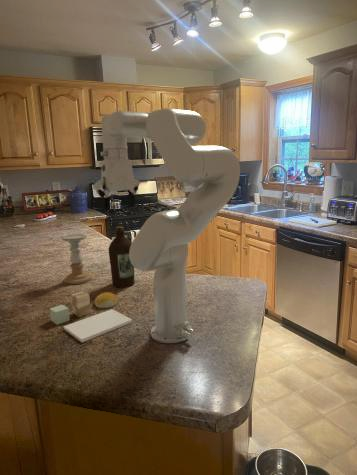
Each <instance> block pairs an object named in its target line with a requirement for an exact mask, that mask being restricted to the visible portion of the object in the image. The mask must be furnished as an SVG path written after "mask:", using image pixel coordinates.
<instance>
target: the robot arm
mask: <svg viewBox="0 0 357 475" xmlns="http://www.w3.org/2000/svg"><path fill="white" fill-rule="evenodd" d="M206 132H207V125H206V121H205V119H204V117H203V116H202V115H201V114H199V113H197V112H196V111H193V110H189V109H188V110H187V109H178V108H167V107H165V108H161V109H154V110H153V111H151V112H143V111H132V110H116V111H113V112H112V113H109V114H108V113H107V114H104V115H103V116H102V117H101V134H102V146H103V147H102V148H103V149H102V150H103V151H100V156H101V157H103V159H102V161H101V162H102V163H101V172H100V173H101V178H100V179H99V180H97V181H96V182H95V183H94V184H93V188H94V190H95V192H96V194H97V195H98V196H100V198H101V205H102V209H103V210H104V211H110V210H111V204H110V203H111V202H110V197H109V195H110V194H111V192H123V191H126V193H127V194H126V196H127V197H126V198H127V201H126V202H127V206H128V207H131V208H135V207H136V206H135V203H136V201H135V200H136V199H135V198H136V197H135V196H136V194H137V191H138V189H139V187H140V183H141V181H140V180H139V179H137V178H135V176H134V170H133V166H132V162H131V159H129V153H128V142H127V140H128V139H127V138H141V139H144V138H145V139H150V140H151V141H152V142H153V144H154V147H155V148H156V150H157V152H158V154H159V155H160V157H161V158H162V160H163V162H164V163H165V165H166V167H167V169H168V171H169V172H170V174H171V175H172V177H173V178H174V179H176V180H177V182H179V183H182V184H184V185H185V184H188V185H189V184H190V185H191V184H200V185H198V186H197V187H196V188H195V189H193V190H192V191H191V192H190V193H189V195H188V196H187V197H186V198H185V200H184V201H183V202H182V204H181V205H179V207H176V208H173V209H170V210H168V209H167V210H162V211H158V212H156V213H153V214H152V215H151V216H148V218H147V219H146V220H145V222H144V223H143V225H142V226H141V228H140V229H139V231H138V233H137V234H136V235H135V237H134V238H133V240H132V241H131V243H132V244H131V247H130V251H129V257H130V261H131V264H132V265H133V266H134V269H136V270H137V271H139V272H151V271H154V273H153V280H152V281H153V282H152V283H153V302H154V303H153V304H154V321H155V322H154V323H155V324H154V325H153V326H152V327H151V329H150V336H151V338H152V339H153V340H154V341H156V342H159V343H163V344H176V343H182V342H184V341H185V342H186V340H187V341H189V340H192V336H193V335H194V334H195V330H194V329H193V328H192V327H191V325H190V321H188V320H187V319H188V318H187V286H186V285H187V283H186V281H187V280H186V279H187V278H186V277H187V276H186V273H187V272H186V271H187V261H188V256H189V243H192V242H194V241H195V240H196V239H197V238H199V236H200V235H201V233H203V232H204V230H205V229H206V228H207V227H208V225H209V224H210V223H211V222H212V220H214V218H215V217H216V216H217V214H219V212H221V210H222V208H224V207H225V206H226V205H227V204H228V202H229V201H230V200H231V198H232V197H233V195H234V194H235V192H236V190H237V188H238V185H239V181H240V175H241V169H240V166H241V165H240V161H239V159H238V157H237V155H236V154H235V152H233V150H231V149H230V148H227V147H224V146H220V145H196V144H198V143H200V142H201V141H202V139H204V137H205V136H206ZM101 188H102V189H101Z"/></svg>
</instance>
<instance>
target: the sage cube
mask: <svg viewBox="0 0 357 475" xmlns="http://www.w3.org/2000/svg"><path fill="white" fill-rule="evenodd" d="M49 313H50V315H49V316H50V321H51V322H52V323H54V324H55V325H56V326H57V325H61V324H63V323H66V322H69V321H71V320H70V311H69V307H67V306H66V305H64V304H59V305H56V306H54V307H50V308H49Z"/></svg>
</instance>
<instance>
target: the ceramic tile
mask: <svg viewBox="0 0 357 475" xmlns="http://www.w3.org/2000/svg"><path fill="white" fill-rule="evenodd" d="M132 323H133V319H131V318H130V317H127V316H126V315H124V314H122V313H120V312H118V311H117V310H114V309H108V310H106V311H103V312H100V313H98V314H95V315H91V316H89V317H85V318H84V319H80V320H77V321H75V322H72V323H70V324H66V325H64V326H63V330H65V332H68V334H69V335H71V336H72V337H74V338H75V339H76V340H78V341H79V342H80V343H84V342H88V341H90V340H92V339H94V338H97V337H100V336H102V335H104V334H107V333H110V332H112V331H115V330H118V329H119V328H122V327H124V326H127V325H129V324H132Z"/></svg>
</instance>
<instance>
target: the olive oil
mask: <svg viewBox="0 0 357 475" xmlns="http://www.w3.org/2000/svg"><path fill="white" fill-rule="evenodd" d="M124 228H125V227H124V226H117V227H115V235H116V236H115V237H114V239H113V240H111V242H110V243H109V246H108V257H109V264H110V272H111V273H110V274H111V281H112V286H113V287H115V288H128V287H131V286H133V285H134V284H135V267H134V266H133V265H132V264H131V261H130V257H129V251H130V247H131V244H132V241H131V240H129V239H128V237H126V236H125V230H124Z"/></svg>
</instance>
